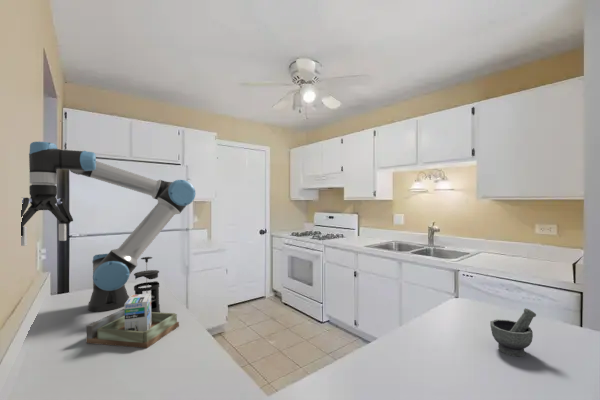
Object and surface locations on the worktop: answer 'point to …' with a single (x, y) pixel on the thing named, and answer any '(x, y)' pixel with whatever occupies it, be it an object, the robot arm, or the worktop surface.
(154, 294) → the french press
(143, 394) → the worktop surface
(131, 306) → the light bulb box
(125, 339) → the wooden drawer tray
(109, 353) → the worktop surface
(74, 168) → the robot arm
